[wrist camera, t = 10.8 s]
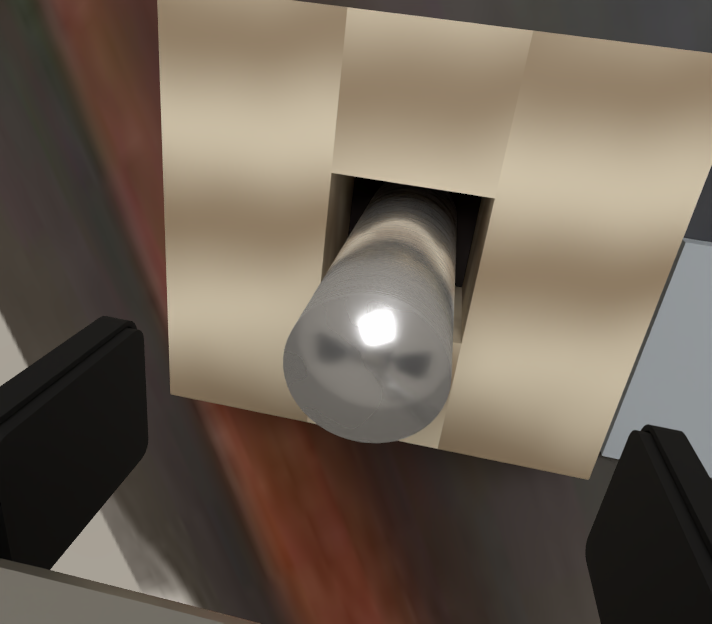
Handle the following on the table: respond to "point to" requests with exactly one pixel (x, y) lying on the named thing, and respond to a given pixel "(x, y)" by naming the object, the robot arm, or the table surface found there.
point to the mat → (674, 361)
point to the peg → (381, 322)
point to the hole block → (437, 171)
